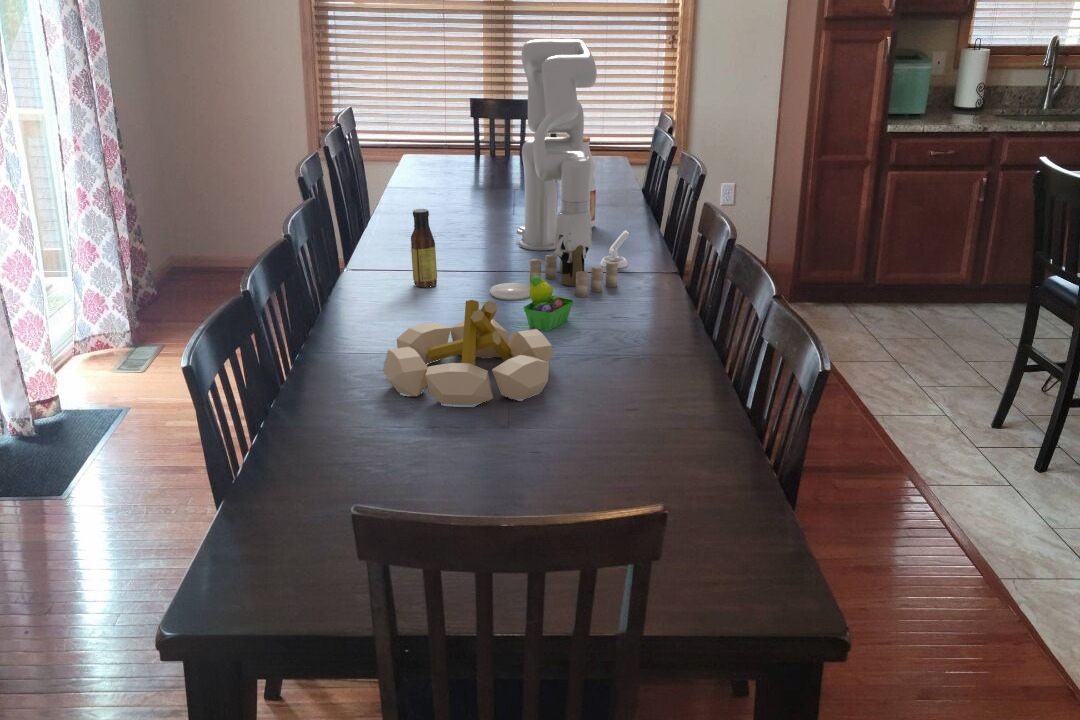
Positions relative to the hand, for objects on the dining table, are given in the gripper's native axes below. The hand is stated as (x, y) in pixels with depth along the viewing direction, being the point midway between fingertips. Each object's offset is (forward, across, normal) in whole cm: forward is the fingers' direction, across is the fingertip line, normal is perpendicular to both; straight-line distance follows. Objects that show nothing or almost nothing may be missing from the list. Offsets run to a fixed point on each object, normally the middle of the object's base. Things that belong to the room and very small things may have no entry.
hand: (573, 273), depth 275 cm
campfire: (+2, +63, +28) cm, 69 cm away
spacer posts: (+3, 0, 0) cm, 3 cm away
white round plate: (+3, +17, -6) cm, 18 cm away
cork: (+2, 0, 0) cm, 2 cm away
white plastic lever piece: (+3, -22, -4) cm, 22 cm away
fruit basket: (+2, +28, +16) cm, 33 cm away
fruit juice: (+4, -48, -38) cm, 61 cm away
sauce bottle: (+3, +28, -27) cm, 39 cm away
